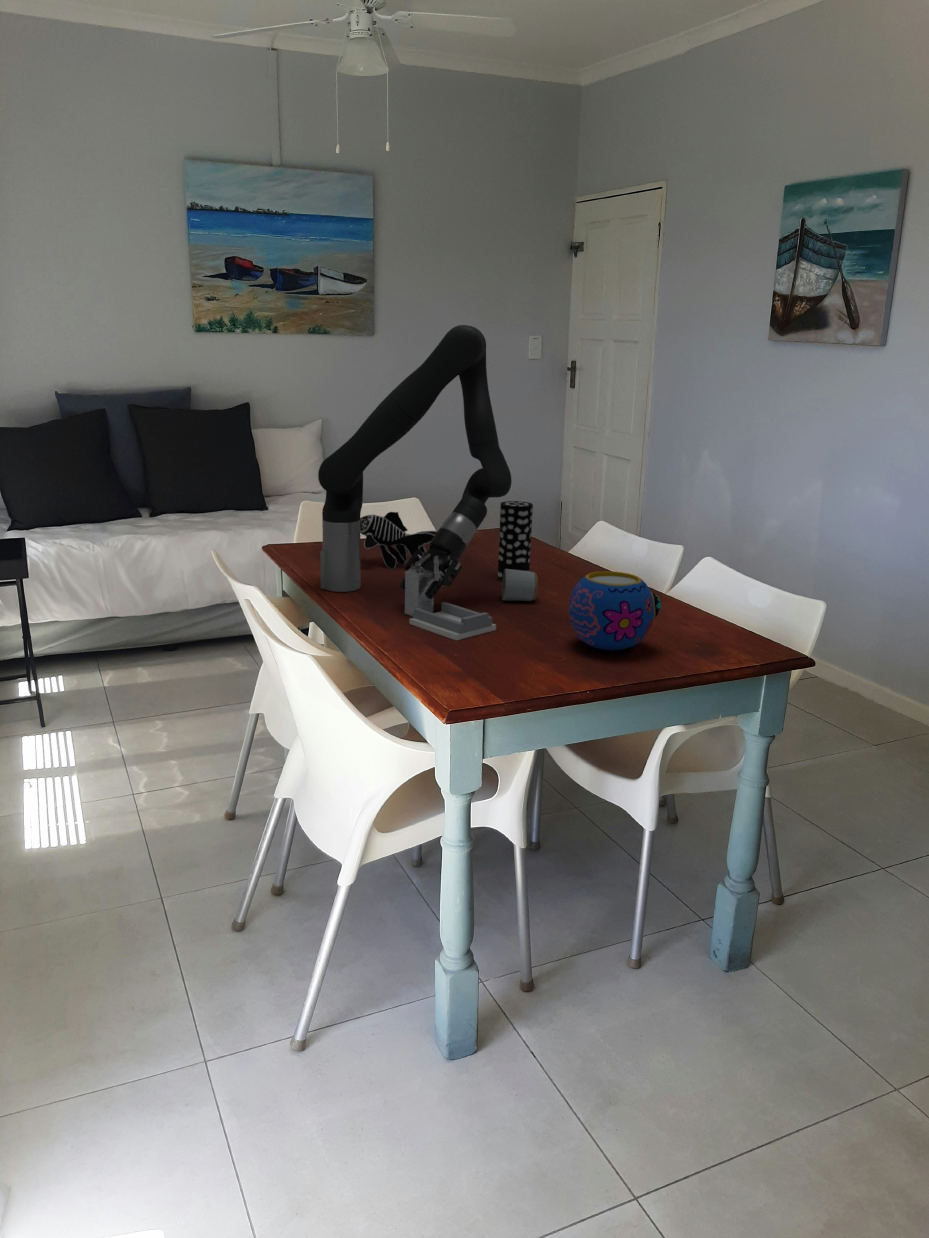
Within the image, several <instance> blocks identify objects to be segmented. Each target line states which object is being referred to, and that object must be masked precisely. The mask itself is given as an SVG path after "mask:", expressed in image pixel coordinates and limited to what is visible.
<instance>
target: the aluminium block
mask: <svg viewBox="0 0 929 1238" xmlns="http://www.w3.org/2000/svg"><path fill="white" fill-rule="evenodd" d="M404 571H405V573H404V578H405V591H404V615H407V616H410V617H412V618H414V609H417V608H419V609H422V610H425V611H428V612H431V613H434V597H435V596H434V597H433V598H432V599H428V598H427V597H426V595H425V592H426V590H427V589H428V587H429V586H430V584H431V583H432V582H433V581H435V575H434V572H432V571H428V570H425V569H421V568H420V569H415V570H409V571H406V570H404Z"/></svg>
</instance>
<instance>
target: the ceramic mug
mask: <svg viewBox="0 0 929 1238" xmlns="http://www.w3.org/2000/svg"><path fill="white" fill-rule="evenodd" d="M538 579H539V577H538V574H537V573H536V572H535V571H530V570H529V571H521V570H512V569H505V570H504V574H503V582H501V584H502V585H501V587H502V589H501V596H502V598H501V599H502V601H505V602H506V601H508V602H509V601H510V602H517V601H518V602H532V601H535V600H536V598H537V595H538V588H539V587H538V585H539V582H538V581H539V580H538Z"/></svg>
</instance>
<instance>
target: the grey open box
mask: <svg viewBox="0 0 929 1238" xmlns="http://www.w3.org/2000/svg"><path fill="white" fill-rule="evenodd" d="M440 604H441V606H440V607H441V610H440V611H437V612H433V613H431V612H428V611H425V610H422V609H419V608H417V609H414V617H412V618H409V620H408V621H409V625H411V626H414V627H417V628H420V629H423V630H426V631H428V632H430V633H433V634H437V635H439V636H442V637H445V638H448V639H451V640H453V641H460V640H462V639H463V640H464V639H467V638H471V637H474V636H479V635H482V634H487V633H489V632H490V633H491V632H494V631H497V624H496V623H493V617H492V616H491V615H489V613H488V612H485V611H484V612H478V611H474V610H471V609H468V608H465V607H462V606H459V605H456V604H453V603H450V602H446V601H444V602H441V603H440Z"/></svg>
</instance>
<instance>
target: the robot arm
mask: <svg viewBox="0 0 929 1238" xmlns="http://www.w3.org/2000/svg"><path fill="white" fill-rule="evenodd" d="M486 341H487V340H486V338H485V336H484V334H483V332H482V331H480V329H478V328H476V327H475V326H472V325H467V324H461V325H459V324H458V325H457V326H454V327H452V328H450V329H449V330H448V331H447V332H446V334H445V335H444V336H443V337H442V339H441V340H440V342H438V344H437V345H436V347H435V348H434V349H433V351H432V352H431V353H430V355H428V357H427V358H426V359H425V360H424V361H423V363H422V364H420V366H419V367H417V368H416V369H415V370H414V371H412V372H411V373H410V374H408V376H407V377H405V378H404V379H403V380H402V381H401V382H400V383H399V384H398V385H397V386H396V387H395V388H394V389H393V390H392V391H391V392H389V393H388V394H387V396H386V397H384V398H383V400H382V401H380V403H379V404H378V405H377V407H375V409H374V410H373V411H371V413H370V414H369V416H367V418H366V419H365V420H364V422H363V423H362V424H361V425H360V427H359V428H358V429H357V430H356V431H355V433H353V435H352V436H351V437H350V438H348V440H347V441H346V442H344V443H343V444H342V445H341V446H339V448H338V449H336V450H335V451H334V452H333V453H332V454H330V455H329V456H327V457H326V458H324V460H323V461H322V462H321V464H320V466H319V468H318V472H317V473H318V474H317V477H318V478H317V479H318V482H319V484H320V486H321V488H322V489H323V490H324V491H325V500H324V503H323V507H322V509H321V510H322V512H321V517H322V518H321V519H322V524H321V525H322V549H321V550H320V551H319V553H320V556H319V557H320V558H319V561H320V563H319V564H320V568H319V569H320V571H319V572H320V573H319V574H320V589H321V590H326V591H328V592H329V591H330V592H337V593H339V592H341V593H344V592H346V593H347V592H354V591H357V590H359V589H360V588H361V582H362V581H361V580H362V579H361V533H360V518H361V512H362V508H363V500H364V498H363V497H364V495H363V494H364V471H365V470H366V469H367V467H369V465H370V464H371V463H372V462H373V461H374V460H375V459H376V458H377V457H378V456H379V455H381V454H382V453H384V452H385V451H387V450H388V449H389V448H391V447H392V446H393V445H395V444H396V443H397V442H399V441H400V440H401V439H402V438H403V437H404V436H406V435H407V434H408V433H409V432H410V431H411V430H412V429H413V428H414V427H415V426H416V425H417V424H418V422H420V421H421V419H422V418H423V417H424V416H425V415H426V414H427V413H428V411H429V410H430V408H431V407H432V406H433V404H434V403H435V401H436V400H437V398H438V397H439V395H440V394H441V393H442V391H443V390H444V389H445V388H446V387H447V385H449V384H450V383H451V382H452V381H453V380H455V378H457V377H458V378H459V381H460V387H461V391H462V401H463V416H464V417H463V419H464V428H465V433H466V439H467V444H468V450H469V453H470V456H471V457H472V458H474V459H476V460H478V461H479V462H480V464H481V468H479V469H476V471H474V472H473V473H472V474H471V475H470V477H469V478H468V480H467V482H466V485H465V488H464V490H463V493H462V496H461V499H460V501H459V502H458V503H457V504H456V506H455V507H454V509H453V510H452V512H451V513H450V515H448V517H447V518H446V519H445V520H444V522H443V523H442V524H441V526H439V529H438V530H437V531H438V532H437V533H436V534H435V536H434V537H433V539H432V540H431V542H430V543H429V549H428V550H426V551H427V552H426V553H424V552H422V551H421V550H420V549H417V550H416V551H415V553H414V554H413V555H412V557H411V556H410V558H409V559H408V560H407V562H405V564H404V566H403V569H404V571H409V570H415V569H420V568H421V569H423V568H424V569H425V570H428V571H432V572H434V581H433V582H432V583H431V584H430V586H429V587H428V589H427V590H426V592H425V595H426V597H427V598H428V599H432V598H433V597H436V595H437V594H438V593H439V591H440V589H441V588H443V587H444V586H447V587H451V586H452V585H453V583H454V582H455V579H456V578H457V577H458V574H459V573H460V571H461V569H462V568H463V565H462V564H461V562H460V561H459V559H460V557H461V556H462V554H463V553H464V551H465V550H466V548H467V547H468V545H469V544H470V542H471V541H472V539H473V538H474V536H475V534H476V531H477V530H478V529H479V527H481V524H482V523H483V521H484V520H485V518H486V517H487V514H488V507H487V505H486V502H487V501H488V500H489V499H490V498H502V497H505V496H506V495H507V494H509V492H510V490H511V487H512V480H513V479H512V474H511V470H510V467H509V465H508V463H507V461H506V458H505V456H504V454H503V452H502V449H501V448H500V443H499V435H498V432H497V427H496V421H495V416H494V412H493V407H492V401H491V398H490V397H491V396H490V392H489V390H490V389H489V384H488V383H489V382H488V381H489V380H488V375H487V373H488V371H487V342H486ZM422 564H423V568H422V567H421V565H422ZM399 587H400V588H401V589H402V590H403V591H404V592H405V577H404V578H403V579H402V581H401V582H400V585H399Z"/></svg>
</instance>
